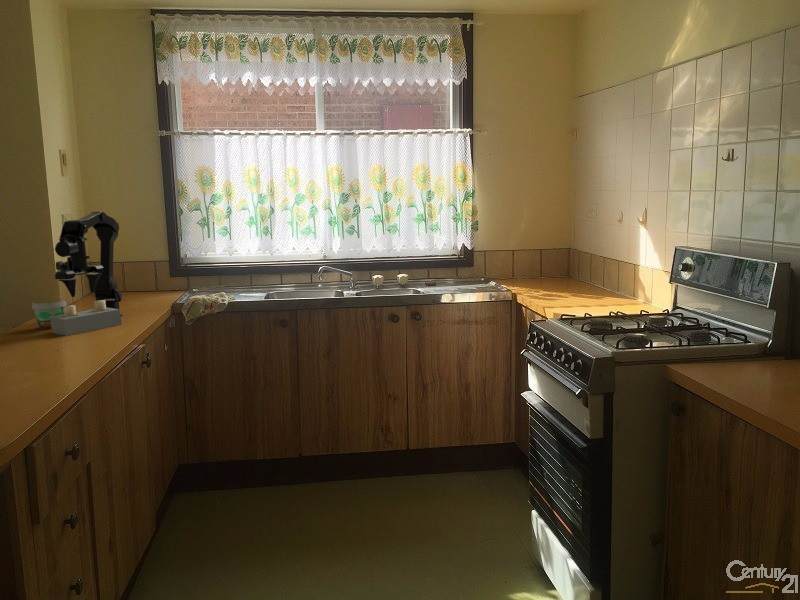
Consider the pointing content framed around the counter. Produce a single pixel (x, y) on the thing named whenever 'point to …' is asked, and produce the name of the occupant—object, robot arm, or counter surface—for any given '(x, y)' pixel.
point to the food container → (47, 313)
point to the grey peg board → (85, 321)
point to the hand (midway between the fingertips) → (82, 294)
